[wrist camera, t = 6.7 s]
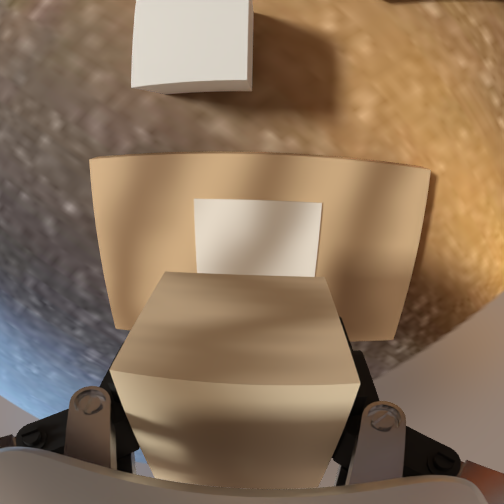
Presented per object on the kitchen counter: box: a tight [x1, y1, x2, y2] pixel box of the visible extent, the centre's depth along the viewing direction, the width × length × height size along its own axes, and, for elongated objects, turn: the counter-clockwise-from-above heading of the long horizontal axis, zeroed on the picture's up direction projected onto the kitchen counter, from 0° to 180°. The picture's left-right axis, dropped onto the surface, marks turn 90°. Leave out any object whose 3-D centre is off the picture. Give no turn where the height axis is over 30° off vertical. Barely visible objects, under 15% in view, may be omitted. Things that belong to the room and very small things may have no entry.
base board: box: [89, 152, 431, 341], centre depth 19 cm, size 20×12×1 cm, turn 89°
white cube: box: [131, 0, 254, 94], centre depth 13 cm, size 5×5×5 cm
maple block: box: [110, 272, 360, 489], centre depth 10 cm, size 6×6×5 cm
